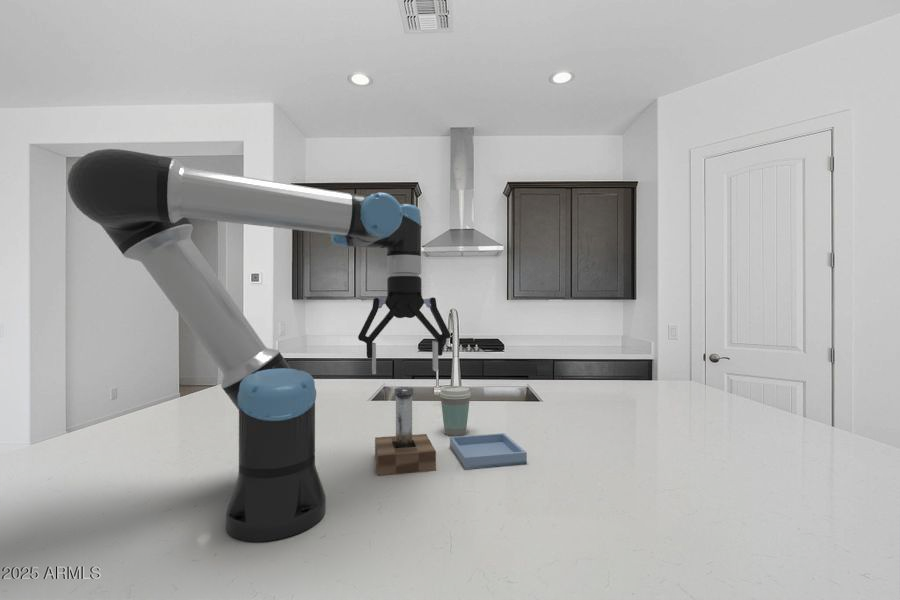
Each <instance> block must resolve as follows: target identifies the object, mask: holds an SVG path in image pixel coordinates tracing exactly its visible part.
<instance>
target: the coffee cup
mask: <svg viewBox="0 0 900 600" xmlns="http://www.w3.org/2000/svg"><path fill="white" fill-rule="evenodd" d="M471 394H472V393H471V391H470V388H469V387H467V386H461V385H449V386H443V387H441V389H440V392H439V397H440V402H441V404H440V405H441V412H442V420H443V421H442V422H443V429H444V430H443V431H444V432H443V433H444V435H447V436H450V437H459V436H465V435H466V434H467V426H468V417H469V411H470V410H469V407H470V399H471V396H472V395H471Z"/></svg>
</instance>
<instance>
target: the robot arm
mask: <svg viewBox="0 0 900 600" xmlns="http://www.w3.org/2000/svg"><path fill="white" fill-rule="evenodd" d="M67 191H68V194H69V196H70V199H71V200H72V202H73V204H74V206H75V207H76V208H77V209H78V211H80V212H81V213H82V214H83V215H85V216H86V217H87V218H88V219H90V220H91V221H93V222H94V223H95V222H96V223H97V224H99V225H100V226H101V228H103V230H104V231H105V233H106V234H107V235H108V236H109V238H110V239H111V241H112V242H113V243H114V245H115V246H116V247H117V249H118V250H119V251H120V252H121V254H122V255H123V257H124V258H126V259H130V260H134V261H138V262H140V263H141V264H142V265H143V267H144V268H145V269H146V271H147V273H148V274H150V276H151V277H152V278H153V280H154V282H155V283H156V285H158V287H159V288H160V290H161V291H162V292H163V293H164V295H165V296H166V298H167V299H168V300H169V302H170V303H171V305H172V306H173V307H174V309H175V310H176V311H177V313H178V314H179V316H181V317H180V318H182V320H183V321H184V323H185V324H186V325H187V326H188V328H189V329H190V330H191V332H192V333H193V334H194V336H195V337H196V338H197V340H198V341H199V343H200V344H201V345H202V347H203V348H204V349H205V351H206V352H207V354H208V355H209V356H210V357H211V359H212V361H213V362H214V363H215V364H216V366H217V367H218V369H219V370H220V371H221V372H222V374H223V377H222V382H221V385H220V386H221V389H222V390H223V391H224V392H225V394H226V396H228V398H229V399H230V400H231V402H232V403H233V404H234V406H235V407H236V409H237V411H238V477H237V479H236V482H235V485H234V488H233V491H232V494H231V497H230V500H229V502H228V506H227V509H226V514H225V529H226V532H227V533H228V535H230V536H231V537H233V538H235V539H238V540H242V541H248V542H267V541H274V540H280V539H284V538H288V537H291V536H294V535H297V534H300V533H302V532H303V531H306V530H308V529H310V528H312V527H314V526H315V525H316V524H317V523H318V522H320V520H321V519H322V518H323V517H324V516H325V514H326V511H327V510H326V509H327V507H326V503H327V499H326V492H325V490H324V487H323V484H322V481H321V478H320V476H319V472H318V469H317V467H316V398H317V388H316V386H315V379H314V377H313V376H312V374H310V373H309V372H307V371H304V370H298V369H296V368H291V366H290V365H289V363H288V362H287V361H286V359H285V357H284V356H283V355H282V354H281V352H280V350H279V349H274V348H269V347H266V345H265V344H264V342H263V341H262V339H261V338H260V337H259V335H258V333H256V331H255V329H254V328H253V326H252V325H251V324H250V322H249V321H248V319H247V318H246V316H245V315H244V313H243V312H242V311H241V309H240V307H239V306H238V305H237V304H236V302H235V300H234V299H233V298H232V296H231V295H230V293H229V292H228V291H227V289H226V287H225V286H224V284H223V283H222V282H221V280H220V279H219V277H218V276H217V275H216V273H215V272H214V270H213V269H212V268H211V266H210V264H209V263H208V262H207V260H206V258H205V257H204V256H203V254H202V253H201V252H200V250H199V248H198V247H197V245H195V243H194V241H193V240H192V237H191V236H192V233H193V229H194V226H193V224H192V223H191V222H190V220H189V219H195V220H205V221H213V222H221V223H222V222H223V223H231V224H241V225H250V226H257V227H258V226H260V227H267V228H268V227H269V228H276V229H277V228H279V229H285V230H294V231H295V230H296V231H304V232H314V233H322V234H330V240H331V242H332V244H333V245H335V246H338V247H346V248H374V249H375V248H376V249H386V251H387V252H386V260H387V261H386V263H387V264H386V267H387V271H386V272H387V275H389V276H388V277H387V280H386V281H387V282H386V283H387V291H386V292H387V295H386V296H387V297H386V299H384V298H378V297H375V298H373V299H372V308H371V310H370V311H369V314H368V316H367V318H366V320H365V322H364V324H363V326H362V328H361V330H360V332H359V334H358V336H357V338H358V341H360V342H363V343H366V358H367V359H371V373H372V375H377V345H376V344H377V343H376V342H374V341H375V340H376V338H377V337H378V336H379V335H380V334H381V333H382V331H383V330H384V329H385V328H386V326H387V325H388V324H389V323H390V321H392V319H394V317H395V318H397V319H403V318H409V319H412V318H415V317H416V318H417V319H418V321H419V322H420V323H421V325H423V326H424V327H425V329H426V330H427V331H428V332H429V333H430V334H431V335H432V337H433V338H434V339H435V340H431V341H432V344H431V345H432V346H431V347H432V348H431V349H432V370H433V372H439V357H441V356H443V342H444V341H445V340H447V339H450V338H451V337H452V336H451V333H450V331H449V329H448V327H447V325H446V322H445V321H444V319H443V317H442V315H441V313H440V311H439V309H438V306H437V299H436V297H434V296H433V297H429V298H423V293H422V292H423V291H422V277H421V276H420V275H421V274H422V219H421V217H422V216H421V211H420V208H418V206H416V205H413V204H410V203H400V202H399V201H398V200H397V199H396V198H395V197H394V196H393V195H391V194H389V193H386V192H374V193H371V194H369V195H362V194H356V193H348V192H344V191H343V192H342V191H336V190H329V189H324V188H317V187H311V186H305V185H299V184H294V183H293V184H292V183H286V182H282V181H281V182H280V181H273V180H266V179H261V178H255V177H248V176H242V175H235V174H229V173H225V172H224V173H223V172H218V171H211V170H205V169H199V168H192V167H186V166H184V165H183V164H182V163H181V162H180V161H179V160H178V159H177V158H175V157H169V156H162V155H156V154H150V153H144V152H138V151H134V150H133V151H132V150H125V149H120V148H119V149H118V148H117V149H116V148H105V149H99V150H95V151H92V152H88V153H87V154H84V155H83V156H80V158H78V159H77V160H76V162H74V164H72V166H71V169H70V170H69V172H68V175H67ZM424 304H425V306H426V308H429V310H430V312H431V314H432V317H433V318H434V320H435V322H436V325H438V329H439V330H440V332H441V333H440V332H439V331H438V330H437V329H436V328H435V326H433V324H432V323H431V322H430V321H429V320H428V319H427V317H426V316H425V315H424V313H423V312H422V311H421V308H422V307H423V306H424ZM384 305H385V306H386V307H387V309H388V310H389V311H388V312H387V314H386V315H385V316H384V317H383V319H382V320H381V321H380V322H379V324H377V325H376V327H375V328H374V329H373V331H372V332H371V333H370V334H369V336H367V333H368V332H369V330H370V328H371V325H372V323H373V321H374V319H375V317H376V315H377V313H378V311H379V309H381V308H383V306H384Z"/></svg>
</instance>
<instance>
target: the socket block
mask: <svg viewBox="0 0 900 600" xmlns="http://www.w3.org/2000/svg"><path fill="white" fill-rule="evenodd" d="M374 457H375V463H376V464H375V465H376V470H377V476H378V477H379V476H387V475H388V476H389V475H400V474H409V473H410V474H411V473H420V472H423V473H424V472H431V471H437V460H436V459H437V452H436V449H435V447H434V446H433V444H432V442H431V440H430V438H429V436H428V435H427V433H424V434H423V433H422V434H421V433H420V434H412V447H408V448H396V435H393V436H379V437H378V436H377V437H374Z"/></svg>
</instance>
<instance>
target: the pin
mask: <svg viewBox="0 0 900 600" xmlns="http://www.w3.org/2000/svg"><path fill="white" fill-rule="evenodd" d="M393 389H394V396H395V436H396V448H408V447H412V435H413V396H414V392H415V391H414V387H411V386H400V387H395V388H393Z"/></svg>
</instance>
